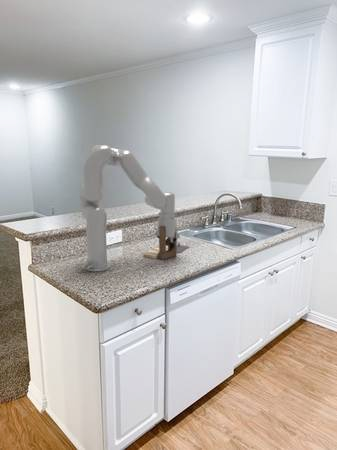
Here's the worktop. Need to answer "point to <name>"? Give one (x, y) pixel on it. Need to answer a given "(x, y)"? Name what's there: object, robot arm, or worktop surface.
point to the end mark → (181, 248)
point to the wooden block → (163, 243)
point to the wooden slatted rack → (155, 252)
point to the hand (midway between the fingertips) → (167, 247)
